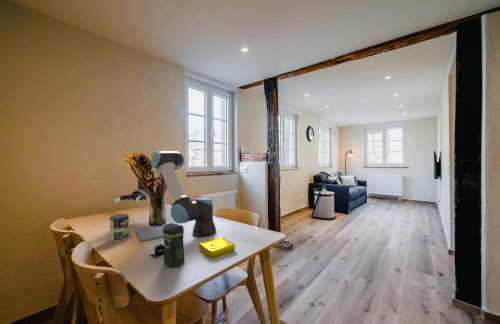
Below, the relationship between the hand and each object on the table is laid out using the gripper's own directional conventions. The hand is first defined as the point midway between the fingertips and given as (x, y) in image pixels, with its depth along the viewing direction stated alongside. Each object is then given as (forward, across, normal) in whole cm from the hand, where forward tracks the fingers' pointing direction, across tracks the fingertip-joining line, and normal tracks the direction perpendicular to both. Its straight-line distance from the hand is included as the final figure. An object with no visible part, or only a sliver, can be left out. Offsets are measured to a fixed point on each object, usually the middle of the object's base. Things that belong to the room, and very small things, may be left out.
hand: (125, 200), depth 147 cm
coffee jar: (+48, -42, -22) cm, 67 cm away
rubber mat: (+1, -18, -22) cm, 29 cm away
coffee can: (+10, 0, -22) cm, 24 cm away
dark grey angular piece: (+36, -32, -23) cm, 53 cm away
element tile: (+36, -61, -22) cm, 74 cm away
